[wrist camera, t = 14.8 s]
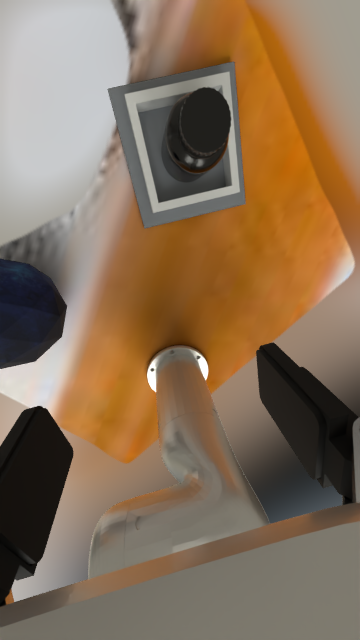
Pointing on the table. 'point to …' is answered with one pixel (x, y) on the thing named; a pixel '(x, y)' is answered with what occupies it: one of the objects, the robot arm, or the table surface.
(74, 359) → the table surface
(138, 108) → the rimmed tray
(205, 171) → the supplement bottle
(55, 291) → the decorative orb
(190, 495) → the robot arm
